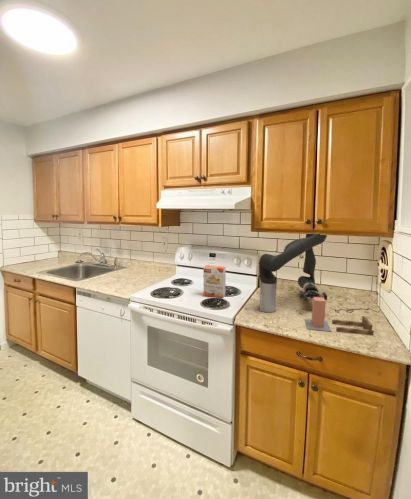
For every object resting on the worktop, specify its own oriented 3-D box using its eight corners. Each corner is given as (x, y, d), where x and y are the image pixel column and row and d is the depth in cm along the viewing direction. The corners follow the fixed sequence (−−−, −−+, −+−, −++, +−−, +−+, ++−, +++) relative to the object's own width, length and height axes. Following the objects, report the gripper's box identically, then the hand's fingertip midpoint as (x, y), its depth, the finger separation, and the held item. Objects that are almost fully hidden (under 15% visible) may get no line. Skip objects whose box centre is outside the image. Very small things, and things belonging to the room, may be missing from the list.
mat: (307, 329, 128) (307, 328, 128) (304, 319, 138) (304, 319, 138) (331, 331, 125) (331, 331, 125) (326, 321, 136) (326, 320, 136)
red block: (312, 326, 130) (314, 300, 127) (311, 322, 135) (313, 296, 132) (323, 327, 129) (325, 301, 126) (321, 322, 134) (323, 297, 131)
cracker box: (203, 296, 174) (203, 266, 170) (206, 293, 179) (206, 264, 175) (223, 299, 169) (223, 268, 165) (225, 295, 174) (225, 266, 170)
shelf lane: (336, 331, 126) (337, 322, 125) (331, 322, 135) (332, 313, 134) (373, 335, 122) (374, 325, 121) (365, 325, 131) (366, 316, 130)
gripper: (298, 283, 156) (301, 292, 140) (323, 284, 153) (329, 294, 137) (297, 295, 157) (301, 305, 142) (322, 296, 154) (328, 307, 139)
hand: (315, 300), depth 139 cm, fingers open, 8 cm apart
